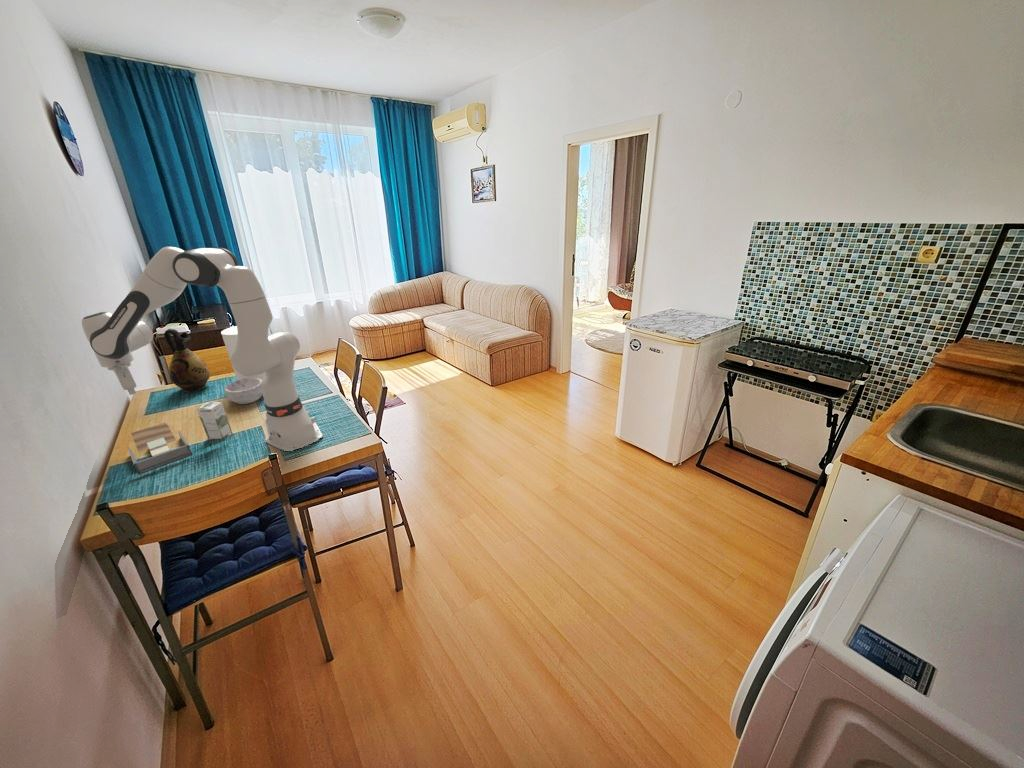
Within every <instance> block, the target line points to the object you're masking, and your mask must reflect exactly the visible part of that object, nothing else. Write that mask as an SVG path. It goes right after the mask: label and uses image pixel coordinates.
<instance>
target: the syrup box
mask: <svg viewBox="0 0 1024 768" xmlns="http://www.w3.org/2000/svg"><path fill="white" fill-rule="evenodd" d="M196 411H197V414H198V415H199V416H198V417H199V419H200V421H201V425H202V427H203V429H204V431H205V434H206V437H207V439H209V440H211V439H212V440H213V439H214V440H216V439H218V440H219V439H221V440H222V439H223V438H225V437H226V436H228V437H231V436H232V435H233V431H232V428H231V425H230V423H229V420H228V416H227V414H226V411H225V408H224V406H223V403H222V402H219V401H207V402H206V403H204V404H203V405H201V406H200V407H198V408H197V409H196Z"/></svg>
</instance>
